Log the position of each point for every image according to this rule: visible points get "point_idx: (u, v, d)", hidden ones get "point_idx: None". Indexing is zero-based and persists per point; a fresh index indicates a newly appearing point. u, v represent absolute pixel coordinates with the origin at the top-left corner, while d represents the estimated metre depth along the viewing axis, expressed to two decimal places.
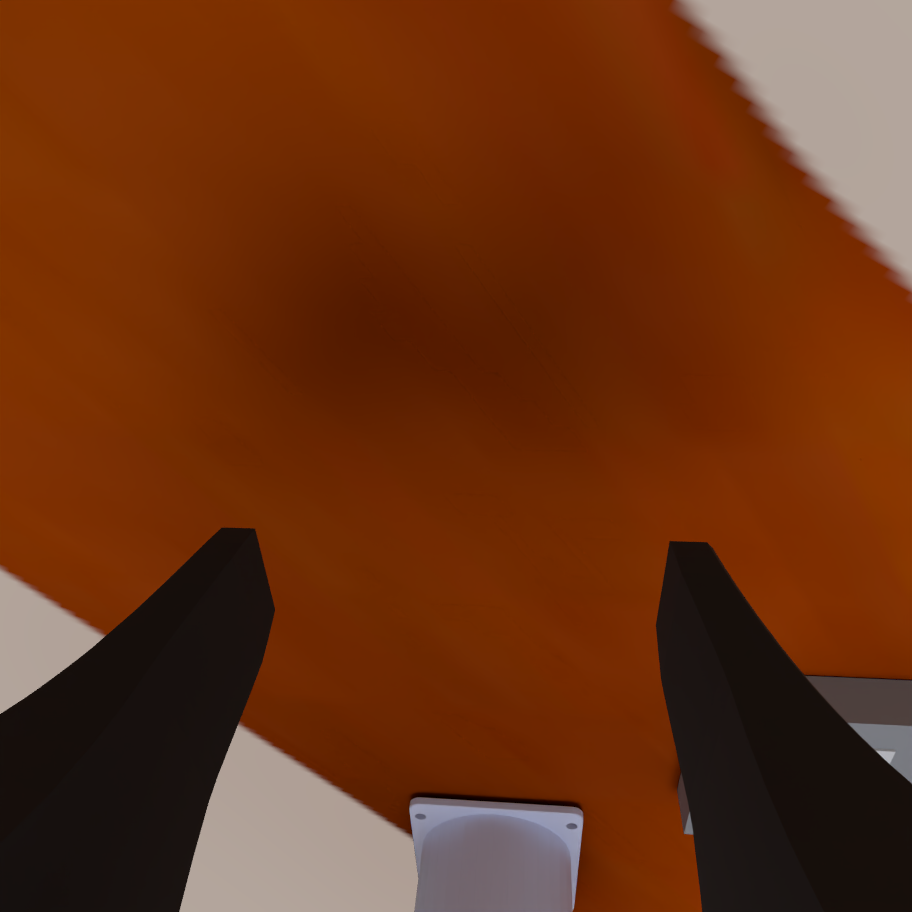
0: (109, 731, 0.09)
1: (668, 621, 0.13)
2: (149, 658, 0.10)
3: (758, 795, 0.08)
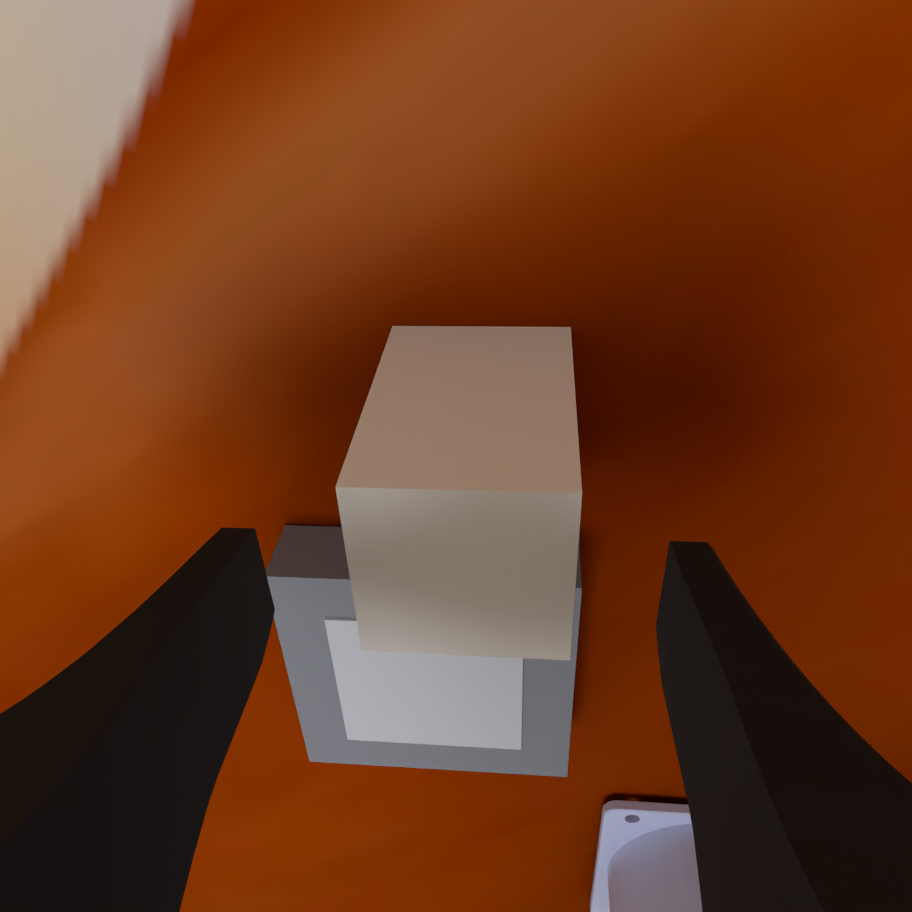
0: (109, 731, 0.09)
1: (668, 621, 0.13)
2: (149, 658, 0.10)
3: (758, 796, 0.08)
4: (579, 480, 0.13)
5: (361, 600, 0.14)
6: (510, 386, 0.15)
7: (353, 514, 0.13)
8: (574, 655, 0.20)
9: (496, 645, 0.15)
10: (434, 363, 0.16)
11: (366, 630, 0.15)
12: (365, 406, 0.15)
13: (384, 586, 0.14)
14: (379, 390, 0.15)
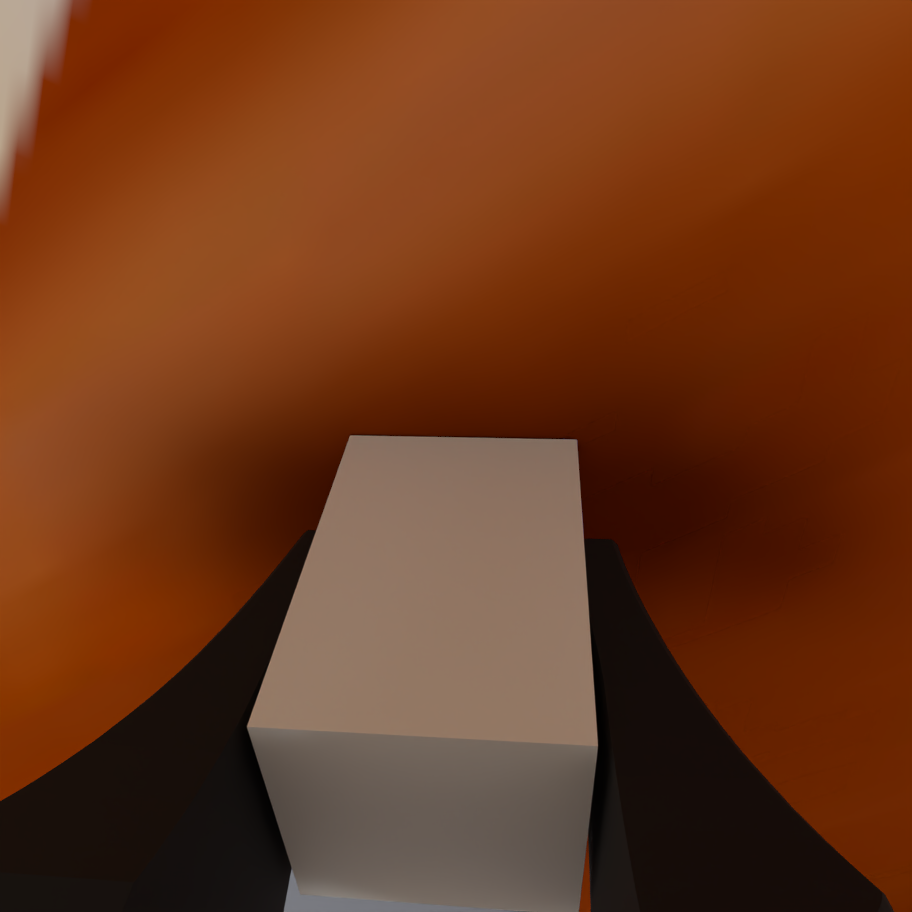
0: (234, 738, 0.09)
1: None
2: (260, 663, 0.10)
3: (613, 786, 0.08)
4: (593, 719, 0.09)
5: (295, 845, 0.10)
6: (497, 539, 0.11)
7: (275, 757, 0.09)
8: None
9: (479, 897, 0.11)
10: (400, 500, 0.12)
11: (304, 875, 0.11)
12: (303, 573, 0.11)
13: (325, 832, 0.10)
14: (324, 545, 0.11)
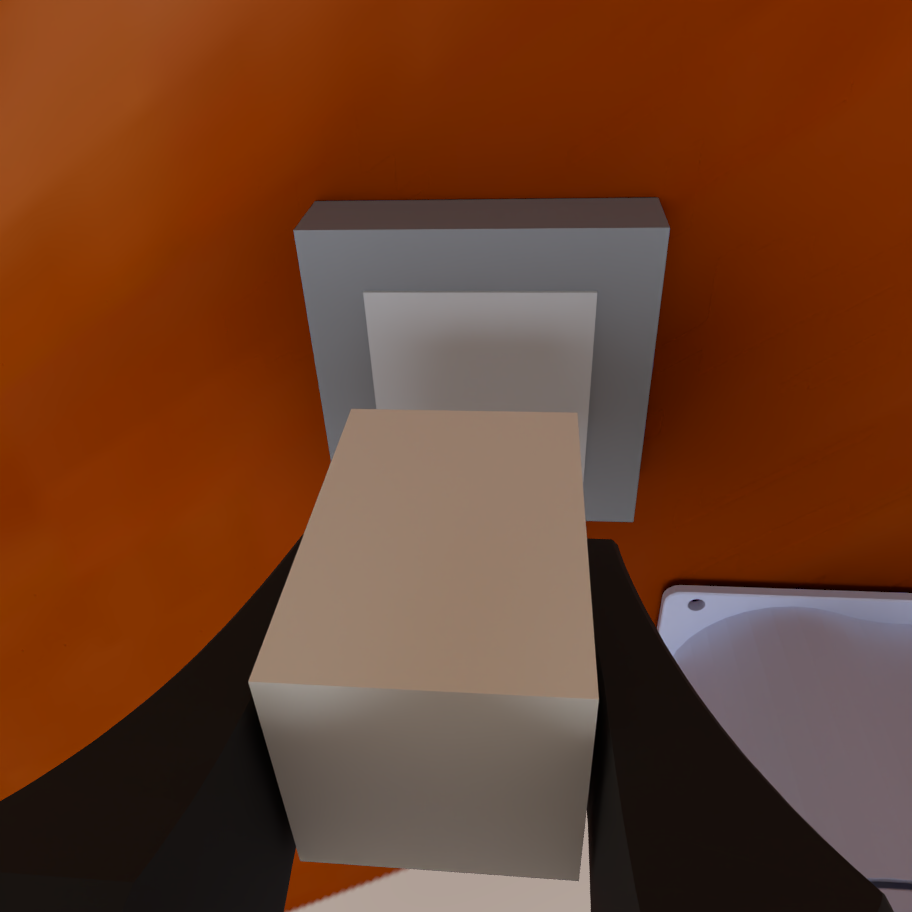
0: (234, 738, 0.09)
1: None
2: None
3: (613, 786, 0.08)
4: (594, 674, 0.09)
5: (295, 808, 0.10)
6: (498, 506, 0.11)
7: (276, 713, 0.09)
8: (654, 334, 0.17)
9: (479, 862, 0.11)
10: (401, 469, 0.12)
11: (304, 840, 0.11)
12: (304, 538, 0.11)
13: (325, 793, 0.10)
14: (325, 511, 0.11)
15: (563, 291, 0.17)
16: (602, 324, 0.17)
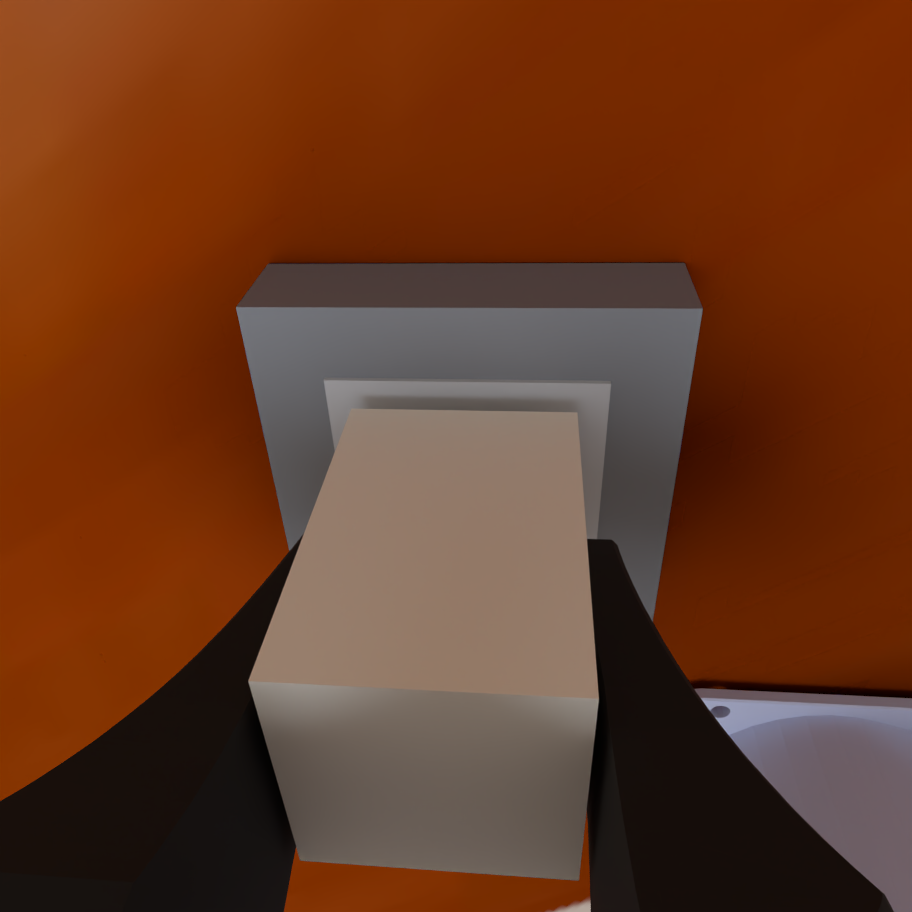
0: (234, 738, 0.09)
1: None
2: None
3: (613, 786, 0.08)
4: (594, 674, 0.09)
5: (295, 807, 0.10)
6: (498, 506, 0.11)
7: (276, 712, 0.09)
8: (680, 431, 0.14)
9: (479, 861, 0.11)
10: (401, 469, 0.12)
11: (305, 840, 0.11)
12: (304, 537, 0.11)
13: (324, 793, 0.10)
14: (325, 511, 0.11)
15: (569, 381, 0.14)
16: (617, 419, 0.14)
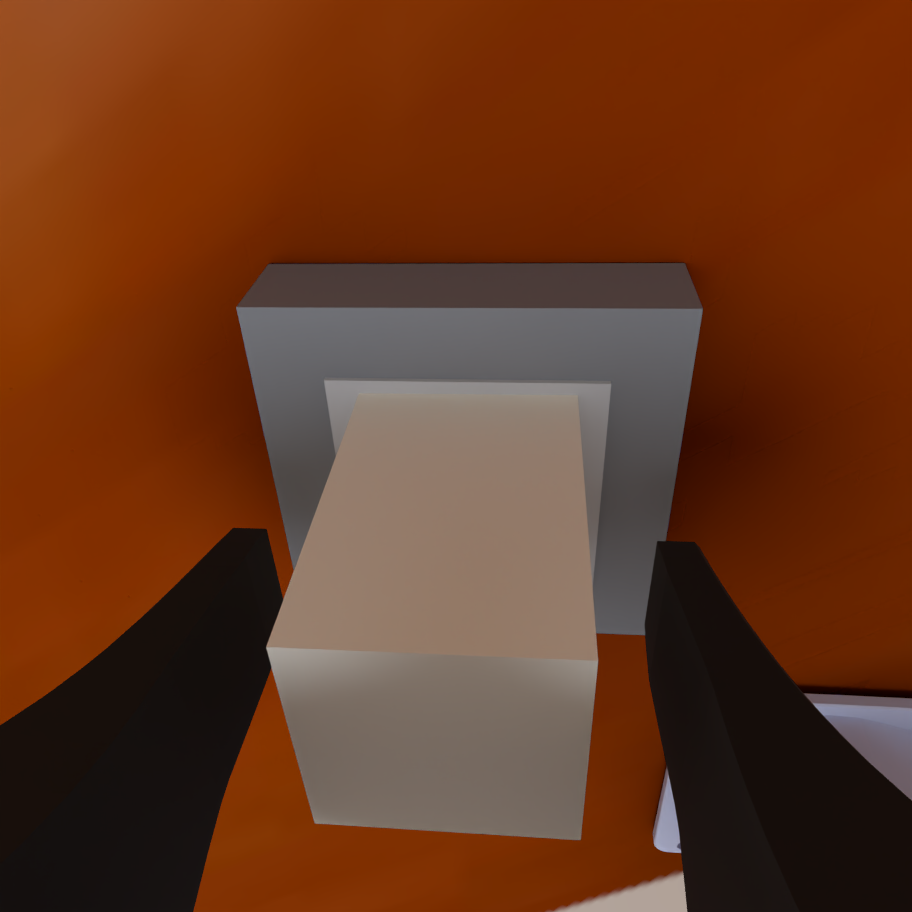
0: (125, 732, 0.09)
1: (655, 620, 0.13)
2: (164, 659, 0.10)
3: (738, 794, 0.08)
4: (593, 638, 0.09)
5: (310, 771, 0.11)
6: (501, 483, 0.12)
7: (293, 678, 0.10)
8: (680, 431, 0.14)
9: (486, 822, 0.11)
10: (408, 450, 0.13)
11: (319, 803, 0.11)
12: (316, 514, 0.11)
13: (338, 757, 0.11)
14: (336, 490, 0.12)
15: (569, 381, 0.14)
16: (617, 419, 0.14)
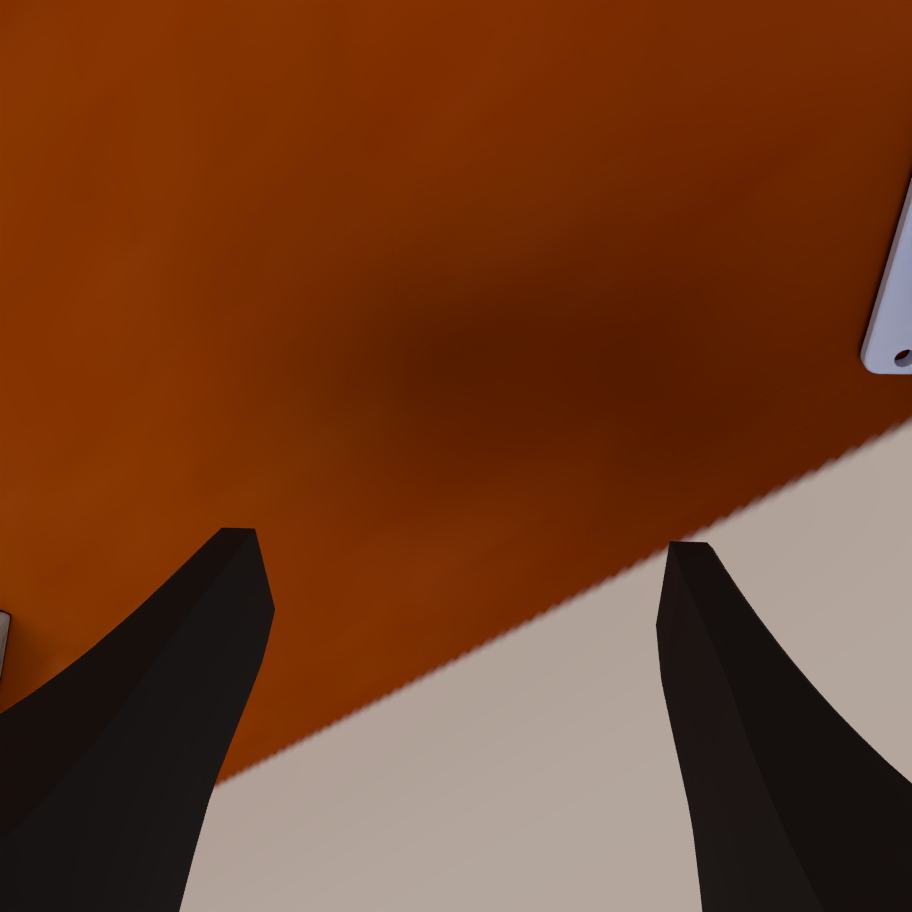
0: (109, 731, 0.09)
1: (668, 621, 0.13)
2: (149, 658, 0.10)
3: (757, 795, 0.08)
4: None
5: None
6: None
7: None
8: None
9: None
10: None
11: None
12: None
13: None
14: None
15: None
16: None
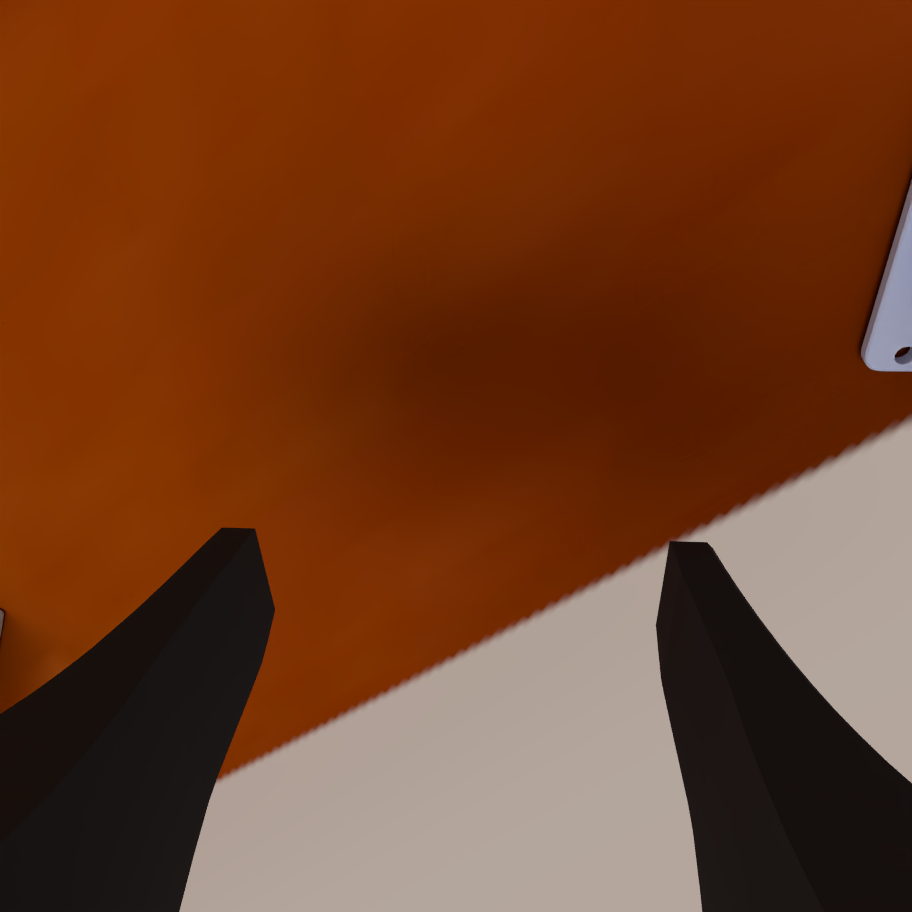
0: (109, 731, 0.09)
1: (668, 621, 0.13)
2: (149, 658, 0.10)
3: (757, 795, 0.08)
4: None
5: None
6: None
7: None
8: None
9: None
10: None
11: None
12: None
13: None
14: None
15: None
16: None
